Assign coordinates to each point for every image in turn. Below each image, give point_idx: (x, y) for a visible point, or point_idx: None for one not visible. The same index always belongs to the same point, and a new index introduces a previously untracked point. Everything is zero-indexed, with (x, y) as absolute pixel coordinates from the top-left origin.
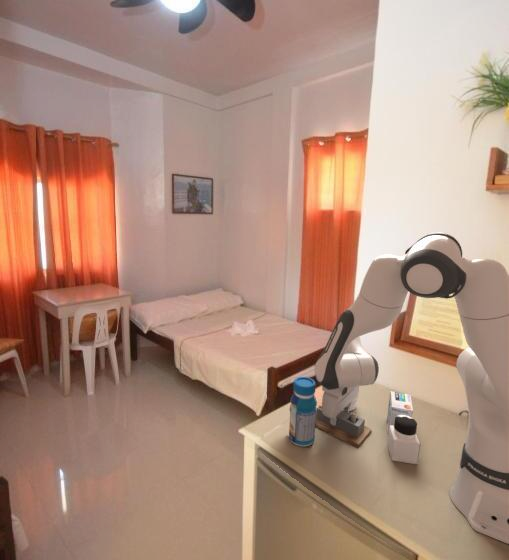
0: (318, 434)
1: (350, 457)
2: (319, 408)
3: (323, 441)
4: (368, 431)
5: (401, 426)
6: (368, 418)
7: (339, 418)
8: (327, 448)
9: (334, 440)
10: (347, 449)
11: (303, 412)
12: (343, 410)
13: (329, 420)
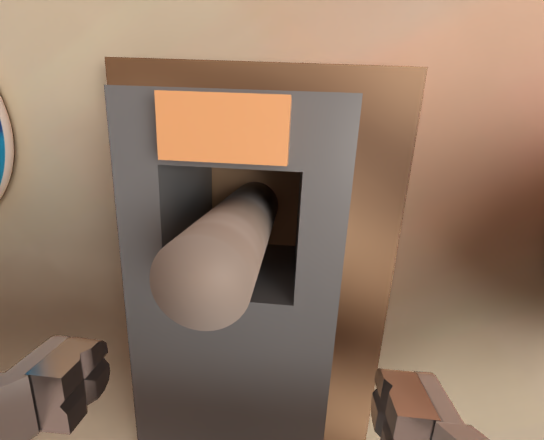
0: (69, 209)
1: (49, 434)
2: (130, 125)
3: (36, 270)
4: None
5: None
6: (516, 432)
7: (138, 420)
8: (4, 316)
9: (102, 323)
10: (92, 407)
11: None
12: (325, 416)
13: None
